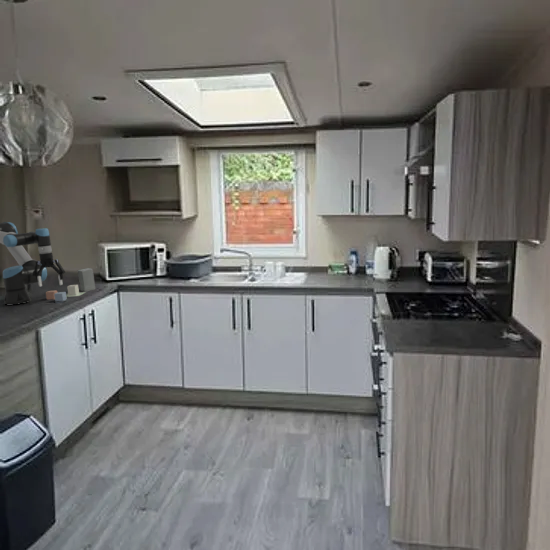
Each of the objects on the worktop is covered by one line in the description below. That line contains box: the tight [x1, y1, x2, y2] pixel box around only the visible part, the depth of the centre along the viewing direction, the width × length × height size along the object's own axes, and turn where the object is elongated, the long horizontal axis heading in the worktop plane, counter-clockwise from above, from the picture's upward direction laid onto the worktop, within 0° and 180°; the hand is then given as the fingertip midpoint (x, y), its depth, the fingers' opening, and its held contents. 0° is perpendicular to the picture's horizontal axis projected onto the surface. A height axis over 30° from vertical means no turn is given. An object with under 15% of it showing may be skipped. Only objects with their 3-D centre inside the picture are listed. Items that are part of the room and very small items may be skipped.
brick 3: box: [66, 284, 80, 296], centre depth 320 cm, size 5×5×6 cm
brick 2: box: [54, 291, 67, 304], centre depth 305 cm, size 5×5×6 cm
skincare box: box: [77, 267, 96, 292], centre depth 332 cm, size 8×7×16 cm
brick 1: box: [45, 289, 58, 301], centre depth 312 cm, size 5×5×6 cm
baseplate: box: [66, 291, 87, 298], centre depth 321 cm, size 12×12×1 cm
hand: (50, 285), depth 311 cm, fingers open, 13 cm apart
